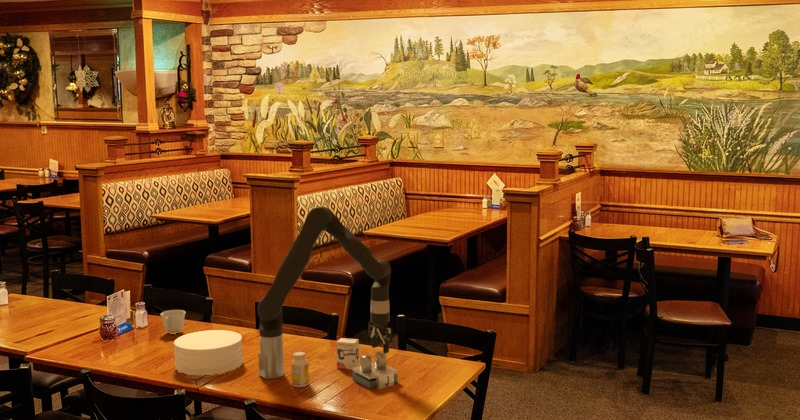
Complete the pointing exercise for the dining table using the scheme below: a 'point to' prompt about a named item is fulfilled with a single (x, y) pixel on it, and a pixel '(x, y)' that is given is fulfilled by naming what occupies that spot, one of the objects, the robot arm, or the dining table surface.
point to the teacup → (173, 320)
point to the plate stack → (208, 352)
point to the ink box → (347, 353)
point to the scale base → (376, 380)
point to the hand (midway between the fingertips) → (380, 350)
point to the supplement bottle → (299, 370)
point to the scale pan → (374, 371)
